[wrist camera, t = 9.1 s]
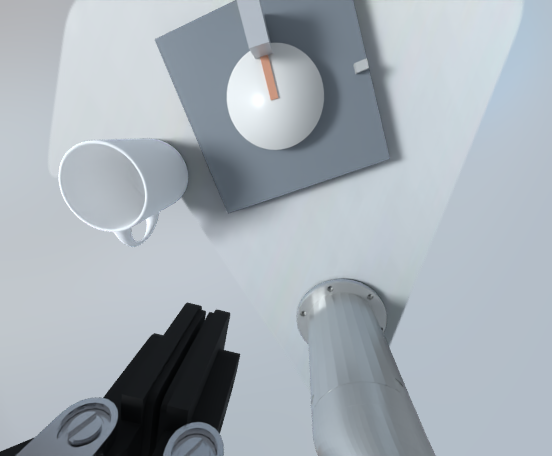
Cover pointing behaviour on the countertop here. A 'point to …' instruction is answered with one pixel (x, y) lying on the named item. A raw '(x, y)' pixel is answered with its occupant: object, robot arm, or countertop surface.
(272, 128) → the dial
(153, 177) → the mug
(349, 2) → the panel
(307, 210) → the countertop surface
